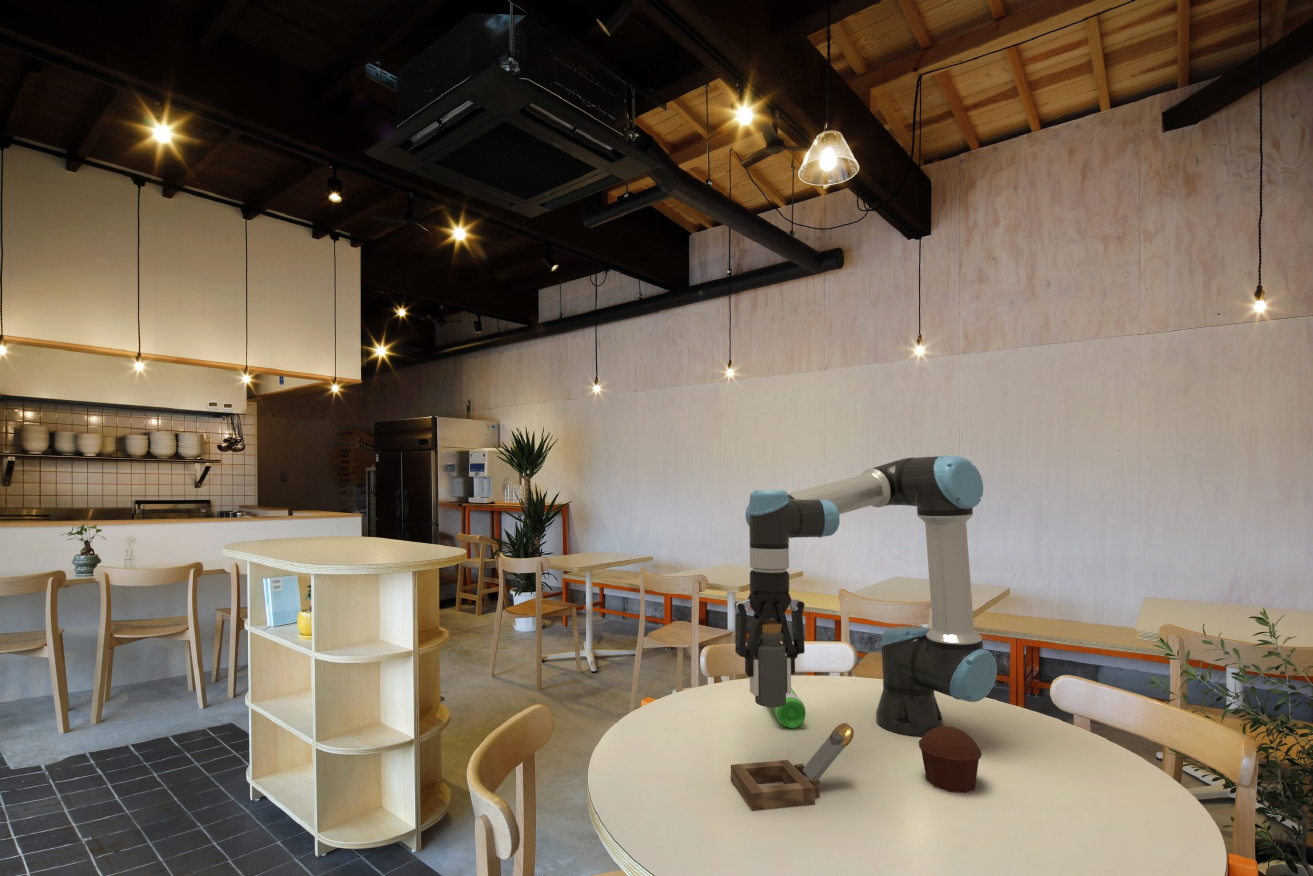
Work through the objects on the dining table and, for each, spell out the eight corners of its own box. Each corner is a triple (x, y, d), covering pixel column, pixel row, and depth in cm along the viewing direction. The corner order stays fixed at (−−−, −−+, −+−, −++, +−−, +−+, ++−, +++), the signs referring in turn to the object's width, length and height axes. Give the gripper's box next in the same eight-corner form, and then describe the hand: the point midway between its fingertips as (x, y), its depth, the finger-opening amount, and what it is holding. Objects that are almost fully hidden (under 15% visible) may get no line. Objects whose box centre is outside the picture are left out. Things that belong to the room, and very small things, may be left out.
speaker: (807, 731, 152) (807, 698, 153) (777, 731, 152) (777, 698, 153) (791, 705, 170) (790, 676, 170) (763, 706, 170) (763, 676, 170)
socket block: (797, 774, 129) (797, 759, 129) (825, 803, 117) (824, 786, 117) (730, 780, 126) (730, 764, 126) (752, 811, 114) (752, 793, 114)
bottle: (786, 708, 119) (785, 626, 120) (754, 706, 120) (753, 624, 121) (786, 698, 125) (785, 620, 126) (755, 696, 126) (755, 618, 127)
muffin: (934, 764, 134) (933, 715, 134) (991, 782, 126) (989, 729, 127) (909, 782, 125) (908, 730, 126) (969, 802, 118) (967, 746, 118)
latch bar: (845, 723, 128) (841, 719, 128) (858, 732, 123) (854, 728, 123) (801, 777, 125) (797, 773, 125) (812, 788, 120) (808, 785, 120)
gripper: (806, 566, 130) (807, 683, 128) (716, 568, 126) (717, 689, 124) (823, 571, 123) (825, 695, 121) (728, 573, 119) (729, 702, 117)
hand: (770, 692), depth 123 cm, fingers closed on bottle, 6 cm apart
